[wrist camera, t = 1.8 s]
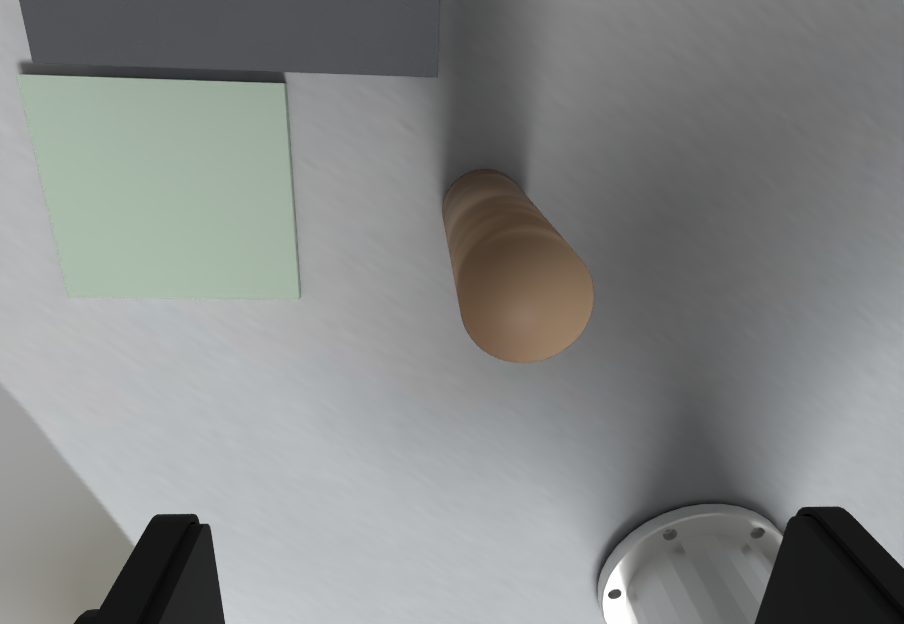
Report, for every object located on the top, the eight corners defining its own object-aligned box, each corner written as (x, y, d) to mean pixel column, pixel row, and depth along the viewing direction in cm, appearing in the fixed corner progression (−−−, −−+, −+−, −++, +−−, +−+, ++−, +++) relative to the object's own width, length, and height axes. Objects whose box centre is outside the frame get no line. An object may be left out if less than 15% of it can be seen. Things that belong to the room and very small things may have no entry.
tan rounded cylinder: (527, 170, 28) (602, 238, 17) (521, 251, 29) (585, 363, 18) (443, 168, 28) (462, 235, 17) (441, 250, 29) (457, 362, 18)
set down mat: (286, 83, 26) (284, 83, 25) (301, 296, 30) (299, 299, 29) (23, 74, 25) (16, 74, 25) (73, 294, 29) (67, 297, 28)
